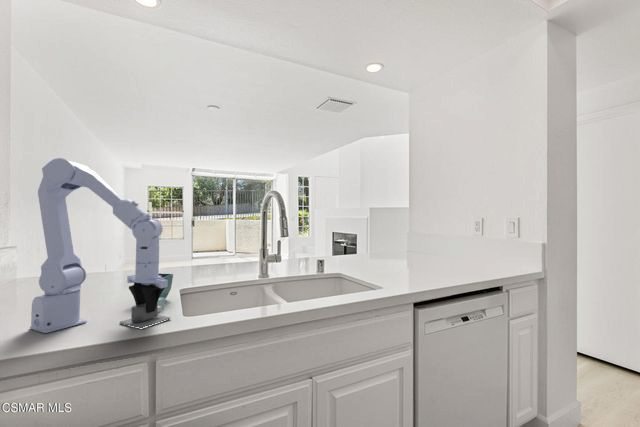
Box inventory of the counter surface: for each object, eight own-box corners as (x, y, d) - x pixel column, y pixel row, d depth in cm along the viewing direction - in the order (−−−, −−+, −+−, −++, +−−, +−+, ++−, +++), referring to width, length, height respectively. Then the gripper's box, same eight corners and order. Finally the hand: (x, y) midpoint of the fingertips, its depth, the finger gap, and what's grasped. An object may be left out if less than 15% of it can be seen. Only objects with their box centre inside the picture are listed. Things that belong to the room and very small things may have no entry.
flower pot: (160, 305, 103) (160, 278, 103) (134, 304, 103) (134, 277, 103) (173, 298, 111) (173, 273, 112) (149, 298, 112) (149, 273, 112)
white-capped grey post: (136, 323, 82) (136, 309, 82) (128, 321, 84) (128, 307, 84) (163, 314, 89) (163, 302, 89) (155, 312, 91) (155, 300, 91)
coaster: (140, 329, 80) (141, 327, 80) (119, 324, 84) (119, 321, 84) (171, 319, 88) (171, 317, 88) (150, 315, 92) (150, 313, 92)
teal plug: (155, 314, 93) (155, 302, 93) (143, 314, 92) (143, 302, 93) (166, 307, 101) (166, 296, 101) (155, 307, 100) (156, 296, 100)
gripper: (177, 262, 87) (176, 310, 87) (144, 258, 93) (143, 303, 93) (154, 265, 81) (153, 317, 80) (120, 261, 87) (119, 310, 87)
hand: (146, 310), depth 86 cm, fingers closed on white-capped grey post, 3 cm apart
